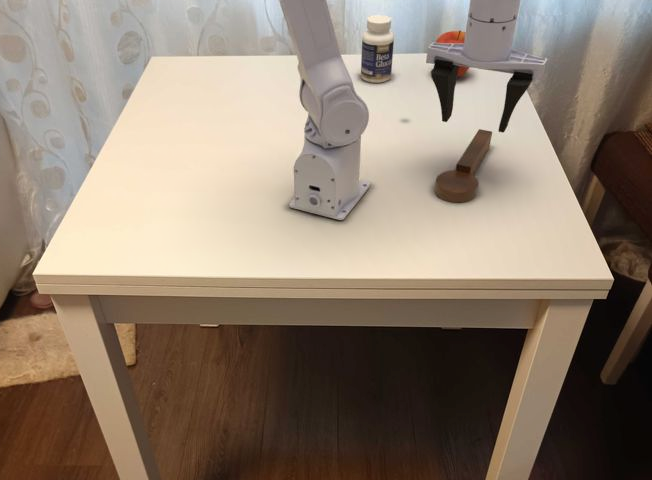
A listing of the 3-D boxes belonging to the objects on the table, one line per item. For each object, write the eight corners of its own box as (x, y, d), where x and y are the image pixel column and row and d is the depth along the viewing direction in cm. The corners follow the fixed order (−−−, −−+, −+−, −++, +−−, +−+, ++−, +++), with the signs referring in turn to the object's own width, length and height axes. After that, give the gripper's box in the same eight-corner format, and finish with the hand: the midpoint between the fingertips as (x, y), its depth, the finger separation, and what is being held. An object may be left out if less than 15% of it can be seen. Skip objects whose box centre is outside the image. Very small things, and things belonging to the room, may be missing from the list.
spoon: (464, 142, 96) (467, 126, 94) (501, 150, 94) (504, 133, 92) (429, 196, 86) (431, 179, 84) (469, 206, 84) (473, 189, 82)
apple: (464, 65, 116) (471, 18, 110) (478, 81, 111) (486, 33, 105) (425, 68, 115) (430, 21, 109) (437, 85, 110) (443, 37, 104)
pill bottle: (376, 86, 110) (379, 26, 104) (354, 77, 113) (356, 19, 106) (397, 77, 113) (401, 18, 106) (375, 68, 116) (378, 10, 109)
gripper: (562, 11, 75) (535, 120, 85) (444, -3, 80) (431, 102, 90) (549, 31, 71) (523, 144, 81) (425, 15, 76) (415, 123, 86)
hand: (474, 123), depth 85 cm, fingers open, 7 cm apart
